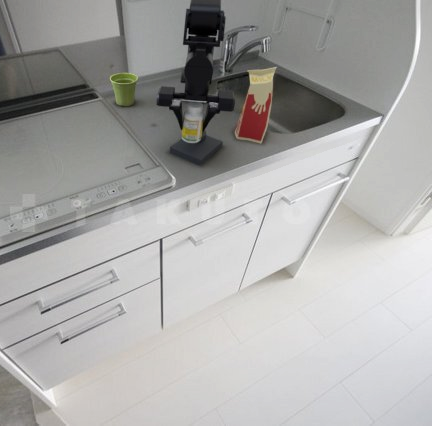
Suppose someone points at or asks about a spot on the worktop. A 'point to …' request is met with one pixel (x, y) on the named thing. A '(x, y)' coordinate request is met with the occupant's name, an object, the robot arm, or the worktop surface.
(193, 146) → the scale
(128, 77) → the plant pot
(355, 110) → the worktop surface
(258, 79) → the red snack bag
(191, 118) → the supplement bottle
